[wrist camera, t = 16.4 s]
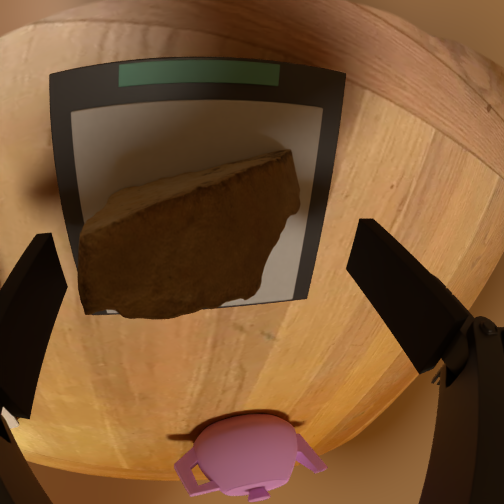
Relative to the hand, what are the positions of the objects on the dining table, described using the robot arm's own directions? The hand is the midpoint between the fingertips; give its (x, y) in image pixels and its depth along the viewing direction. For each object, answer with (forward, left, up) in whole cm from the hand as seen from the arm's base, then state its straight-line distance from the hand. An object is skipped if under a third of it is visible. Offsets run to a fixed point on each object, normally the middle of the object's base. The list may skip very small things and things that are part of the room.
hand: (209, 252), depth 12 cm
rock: (0, 0, -5) cm, 5 cm away
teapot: (+38, +5, -9) cm, 39 cm away
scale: (0, 0, -8) cm, 8 cm away
